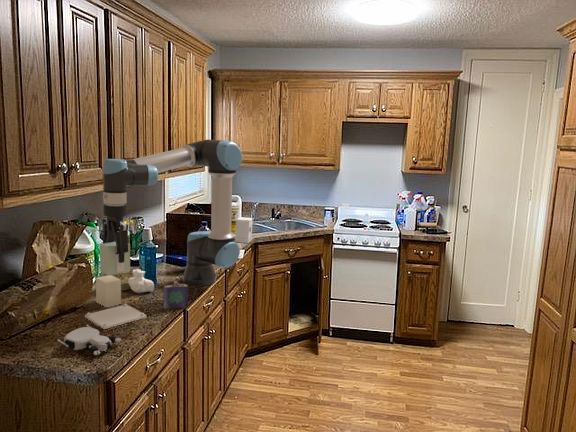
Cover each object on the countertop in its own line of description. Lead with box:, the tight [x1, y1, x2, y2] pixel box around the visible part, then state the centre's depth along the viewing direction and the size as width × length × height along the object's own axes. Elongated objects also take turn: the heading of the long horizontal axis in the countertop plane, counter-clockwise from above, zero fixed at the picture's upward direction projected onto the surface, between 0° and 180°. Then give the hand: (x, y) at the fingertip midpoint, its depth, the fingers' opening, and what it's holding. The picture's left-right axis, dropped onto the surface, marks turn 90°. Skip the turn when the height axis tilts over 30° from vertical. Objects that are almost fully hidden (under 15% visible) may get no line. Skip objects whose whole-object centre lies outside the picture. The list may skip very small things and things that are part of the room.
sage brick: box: [99, 241, 131, 276], centre depth 161 cm, size 8×6×10 cm
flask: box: [162, 280, 189, 310], centre depth 177 cm, size 9×3×11 cm, turn 109°
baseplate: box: [84, 303, 147, 329], centre depth 164 cm, size 16×14×2 cm
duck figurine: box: [127, 268, 155, 294], centre depth 191 cm, size 12×8×11 cm
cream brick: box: [95, 275, 122, 308], centre depth 177 cm, size 6×8×10 cm
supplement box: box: [234, 216, 254, 244], centre depth 292 cm, size 9×9×15 cm
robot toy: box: [57, 324, 122, 356], centre depth 141 cm, size 12×4×15 cm
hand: (115, 268), depth 161 cm, fingers closed on sage brick, 6 cm apart
